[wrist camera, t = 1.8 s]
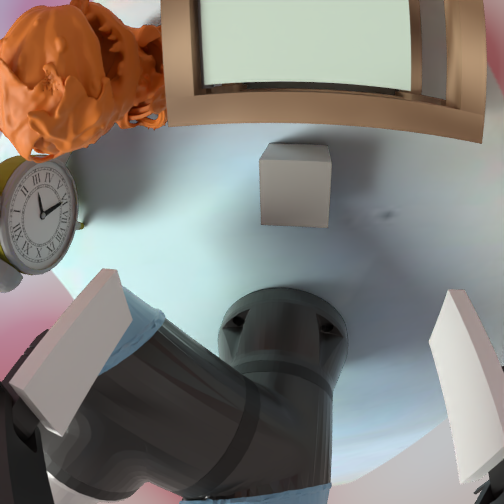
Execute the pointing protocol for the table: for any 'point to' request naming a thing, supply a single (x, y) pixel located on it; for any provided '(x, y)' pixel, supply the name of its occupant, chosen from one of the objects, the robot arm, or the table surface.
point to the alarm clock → (35, 216)
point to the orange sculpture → (77, 78)
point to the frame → (335, 101)
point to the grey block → (295, 185)
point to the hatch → (305, 42)
